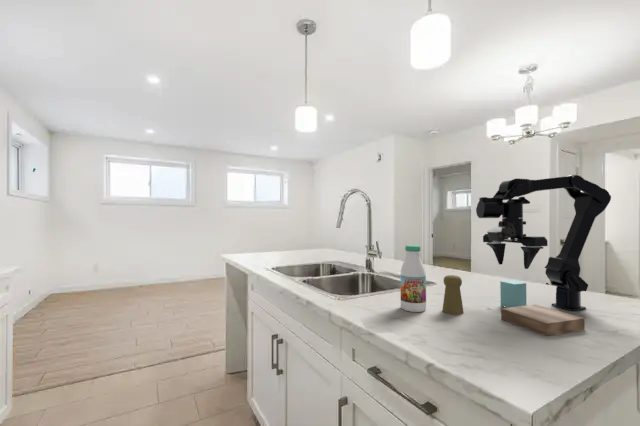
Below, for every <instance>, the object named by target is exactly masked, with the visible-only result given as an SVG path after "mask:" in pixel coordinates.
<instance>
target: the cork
mask: <svg viewBox="0 0 640 426" xmlns="http://www.w3.org/2000/svg"><path fill="white" fill-rule="evenodd" d="M443 284H444V286H445V288H444V295H443V304H442V312H443V313H445V314H448V315H455V316H456V315H458V316H459V315H463V314H464V305H463V299H462V292H461V286H462V284H463V280H462V278H461V277H460V276H458V275H456V274H455V275H453V274H450V275H446V276H444V277H443Z"/></svg>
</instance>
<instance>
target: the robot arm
mask: <svg viewBox="0 0 640 426" xmlns="http://www.w3.org/2000/svg"><path fill="white" fill-rule="evenodd" d="M556 189H557V190H558V189H564V190H565V191H566V192H567V194H568V196H570V197H571V198H572V199H573V200H574V202H573V207H574V210H575V211H574V212H575V215H574V217H573V220H572V222H571V224H570V226H569V229H568V232H567V235H566V236H565V239H564V242H563V244H562V247H561V249H560V252H559V253H558V255H557V256H555V257H553V256H550V257H548V260H547V263H546V265H545V266H544V269H545V275H546V276H547V277H546V278H547V279H548V280H549V281H550V284H551V286H555V288H556V289H555V302H553V303H551V307H552V306H553V307H557V308H561V309H564V310H568V311H574V312H575V311H581V310H587V307H586V306H582V303H581V301H582V297H581V293H582V292H586V291H587V290H588V288H589V284H588V283H587V282H586V281H585V280H584V279H583V278H582V277H581V276H580V273H581V266H580V262H579V259H580V256H581V254H582V251H583V248H584V246H585V244H586V242H587V239H588V237H589V235H590V232H591V229H592V227H593V224H594V222H595V220H596V218H598V216H599V215H600V214H601V213H603V212H604V211H605V210H606V209H607V207H608V205H609V204H610V202H611V199H612V196H611V194H610V193H609V191H608V190H607V189H605V188H602V187H600V185H598V184H595V183H594V182H591V181H589V180H587V179H584V178H583V177H582V176H580V175H579V174H571V175H566V176H559V177H550V178H542V179H541V178H540V179H529V178H512V179H508V180H504V181H502V182H501V183H500V184H499V186H498V189H497V191H496V193H495V194H494V195H493V197H485V196H481V197H479V199H478V200H479V201H478V203H477V205H476V207H475V212H476V216H477V217H478V218H479V219H499V218H501V221H500V220H499V221H498V224H497V225H498V226H496V227H493V228H491V229H489V230H487V233H485V234H484V235H483V236H482V242H483V243H485V244H486V245H487V246H489V247H490V248H491V249H492V250H493V252H494V255H495V258H496V260H497V263H498V265H503V263H504V258H505V252H506V251H505V250H506V245H507V244H506V243H514V244H515V243H517V244H521V245H522V246H520V248H521V250H522V252H523V267H524V269H525V270H528V269H529V268H530V267H531V264H532V262H533V261H534V259H535V257H536V255H538V253H539V251H540V250H542V249H544V247H548V239H547V237H545V236H537V235H528V236H527V234H526V233H524V225H527V221H525V220H524V208H523V207H524V205H530V203H531V201H530V200H529V199H526V197H525V195H529V194H533V193H535V192H539V191H540V192H541V191H551V190H556ZM517 197H518V198H517Z"/></svg>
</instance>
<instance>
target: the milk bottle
mask: <svg viewBox="0 0 640 426" xmlns="http://www.w3.org/2000/svg"><path fill="white" fill-rule="evenodd" d="M421 248H422V247H421V246H420V245H415V244H410V245H405V248H404V249H405V253H406V254H405V259H404V261H403V263H402V265H401V269H400V308H401V309H402V310H404V311H405V312H410V313H422V312H425V311H426V310H427V279H426V278H427V275H426V268H425V266H424V264H423V262H422V259H421V250H422V249H421Z"/></svg>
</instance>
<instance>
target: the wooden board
mask: <svg viewBox="0 0 640 426" xmlns="http://www.w3.org/2000/svg"><path fill="white" fill-rule="evenodd" d="M500 315H501V316H500V318H501V319H500V320H503V321H505V322H508V323H511V324H513V325H515V326H516V325H517V326H519V327H522V328H524V329H527V330H530V331H532V332H535V333H538V334H541V335H544V336H546V337H549V336H555V335H562V334H568V333H574V332H581V331H585V328H586V327H585V317H581V316H577V315H574V314H570V313H567V312H562V311H560V310H557V309H552V308H549V307H546V306H543V305H539V304H526V306H518V307H510V308H507V307H504V308H500Z"/></svg>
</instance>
